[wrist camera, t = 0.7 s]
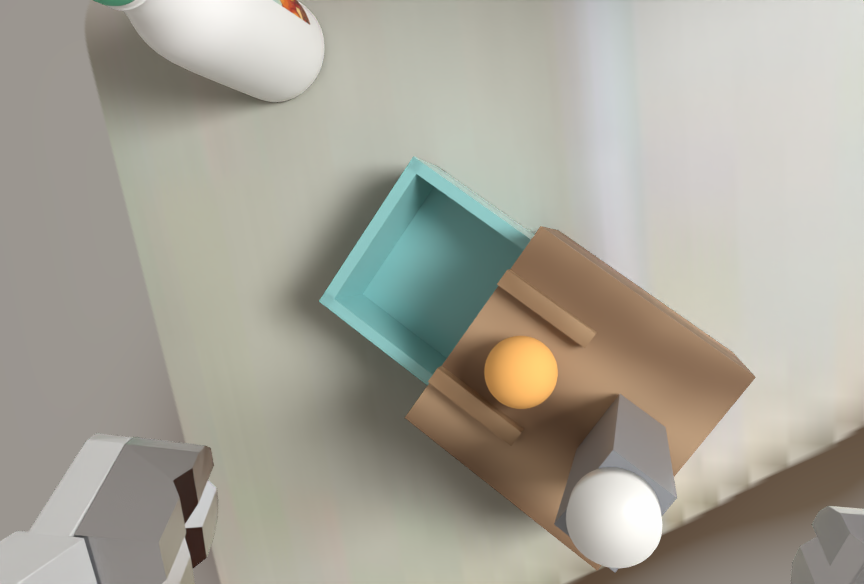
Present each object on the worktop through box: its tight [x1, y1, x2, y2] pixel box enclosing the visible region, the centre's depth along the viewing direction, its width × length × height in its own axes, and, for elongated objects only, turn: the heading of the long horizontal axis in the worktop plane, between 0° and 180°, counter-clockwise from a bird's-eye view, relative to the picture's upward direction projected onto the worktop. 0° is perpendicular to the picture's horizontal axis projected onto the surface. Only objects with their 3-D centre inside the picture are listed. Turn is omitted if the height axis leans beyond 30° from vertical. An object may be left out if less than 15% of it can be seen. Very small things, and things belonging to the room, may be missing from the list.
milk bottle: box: [94, 0, 324, 102], centre depth 47 cm, size 8×8×20 cm
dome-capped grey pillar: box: [554, 394, 677, 572], centre depth 35 cm, size 4×4×13 cm
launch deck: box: [405, 226, 755, 570], centre depth 47 cm, size 14×14×11 cm
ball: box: [484, 336, 558, 409], centre depth 41 cm, size 4×4×4 cm
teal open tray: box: [319, 156, 534, 386], centre depth 51 cm, size 12×10×6 cm
